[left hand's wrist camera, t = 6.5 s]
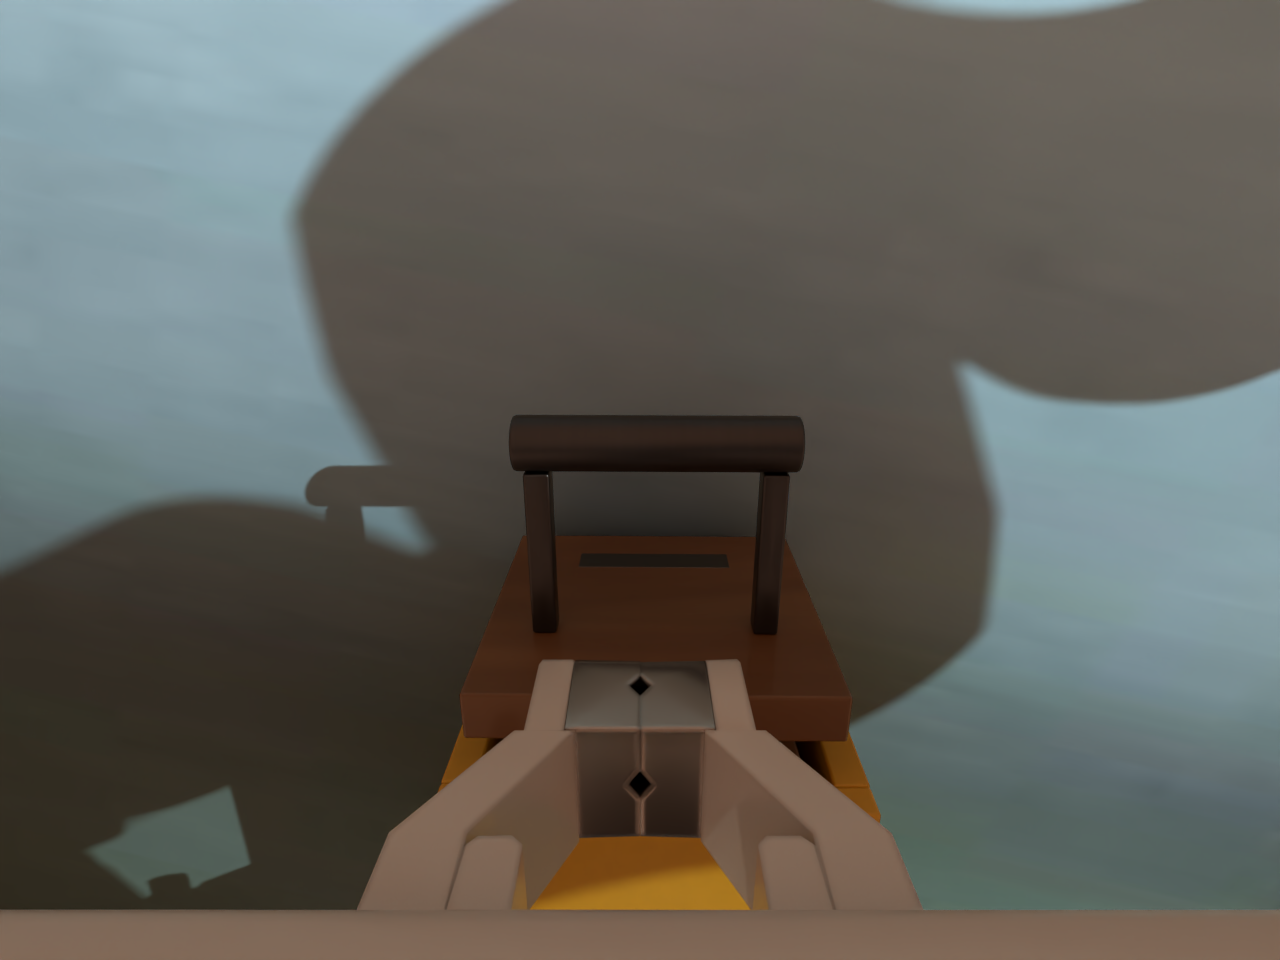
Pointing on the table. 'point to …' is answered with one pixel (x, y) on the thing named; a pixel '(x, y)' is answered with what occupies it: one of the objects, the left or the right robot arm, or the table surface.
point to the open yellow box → (662, 847)
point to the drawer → (659, 577)
